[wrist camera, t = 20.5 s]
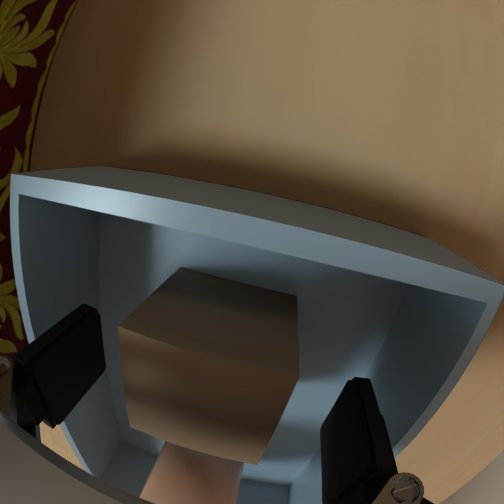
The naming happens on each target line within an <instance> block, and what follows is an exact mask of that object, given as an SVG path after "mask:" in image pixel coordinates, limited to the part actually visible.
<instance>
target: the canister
mask: <svg viewBox="0 0 504 504" xmlns="http://www.w3.org/2000/svg"><path fill="white" fill-rule="evenodd" d="M243 468H244V462H239V461H234V460H230V459H226V458H221V457H217V456H213V455H210V454H206V453H202V452H199V451H195V450H192V449H189V448H185V447H182V446H179V445H176V444H173V443H170V442H167V441H165V443H164V445H163V447H162V449H161V451H160V454H159V456H158V458H157V460H156V462H155V464H154V467H153V469H152V471H151V473H150V475H149V477H148V480H147V482H146V484H145V486H144V488H143V490H142V493H141V495H140V497H139V498H142V499H144V500H147V501H149V502H152V503H155V504H236V502H237V497H238V493H239V488H240V483H241V478H242V473H243Z"/></svg>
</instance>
